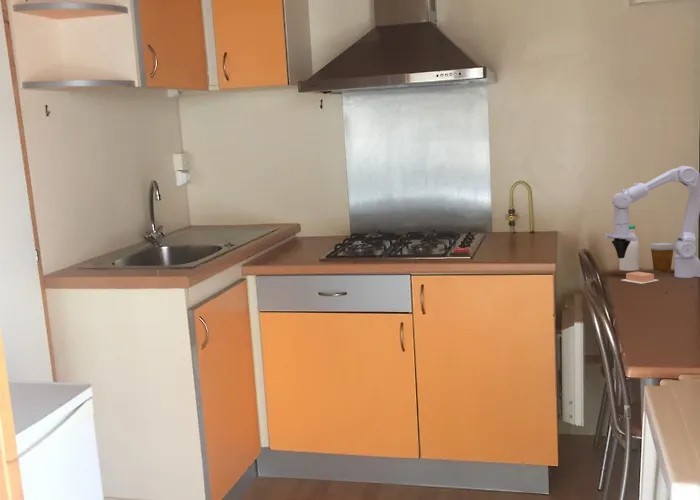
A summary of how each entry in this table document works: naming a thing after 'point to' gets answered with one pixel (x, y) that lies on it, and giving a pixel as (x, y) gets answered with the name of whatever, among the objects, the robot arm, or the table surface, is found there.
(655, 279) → the white riser
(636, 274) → the terracotta tile
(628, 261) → the milk bottle
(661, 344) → the table surface
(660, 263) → the disposable coffee cup
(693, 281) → the table surface
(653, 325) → the table surface
